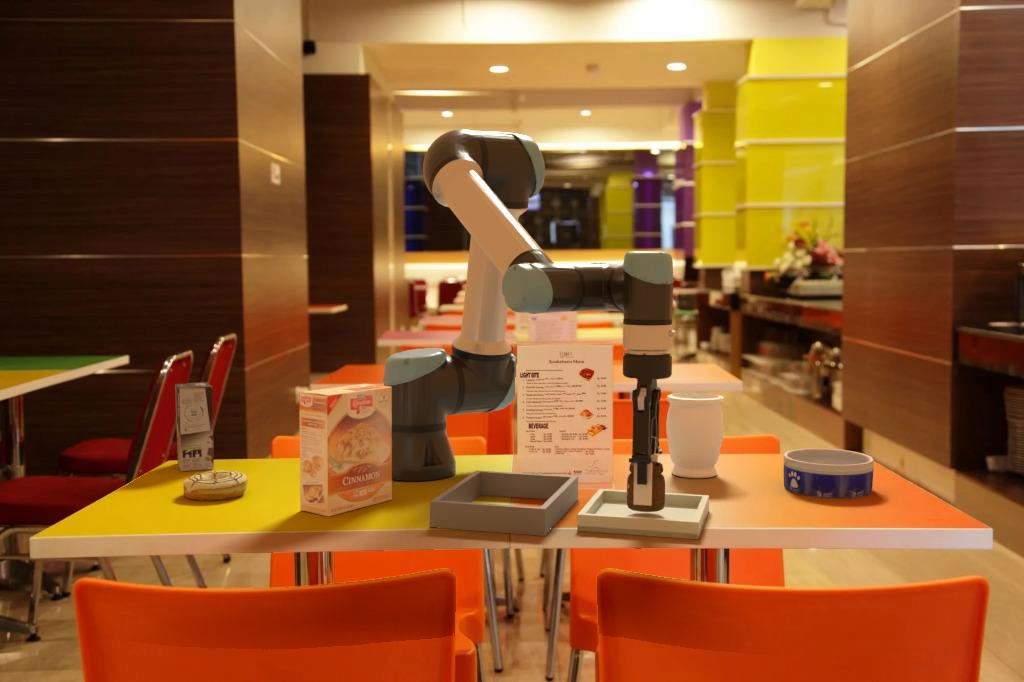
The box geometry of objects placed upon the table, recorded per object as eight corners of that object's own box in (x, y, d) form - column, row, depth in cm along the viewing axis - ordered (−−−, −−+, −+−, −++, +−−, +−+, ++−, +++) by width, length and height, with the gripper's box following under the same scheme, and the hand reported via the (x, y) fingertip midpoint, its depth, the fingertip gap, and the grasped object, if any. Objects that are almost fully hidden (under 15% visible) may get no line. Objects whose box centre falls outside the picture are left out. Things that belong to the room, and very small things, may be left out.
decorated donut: (184, 491, 185) (184, 470, 185) (247, 487, 188) (247, 466, 188) (182, 504, 175) (181, 482, 175) (248, 500, 178) (248, 478, 178)
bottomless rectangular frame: (429, 527, 160) (429, 501, 159) (476, 493, 183) (476, 470, 182) (545, 535, 155) (545, 509, 155) (578, 499, 178) (578, 476, 178)
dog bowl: (892, 493, 183) (893, 459, 183) (826, 503, 176) (827, 468, 176) (828, 477, 197) (829, 445, 196) (765, 485, 190) (765, 452, 189)
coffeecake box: (329, 517, 166) (327, 394, 164) (298, 510, 170) (296, 391, 169) (394, 500, 178) (393, 385, 176) (364, 494, 182) (363, 382, 181)
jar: (719, 469, 203) (721, 392, 202) (725, 481, 193) (726, 399, 192) (664, 468, 204) (665, 391, 203) (667, 479, 194) (668, 399, 193)
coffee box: (215, 469, 203) (213, 386, 202) (180, 472, 201) (178, 388, 199) (210, 461, 212) (208, 381, 210) (176, 463, 209) (174, 382, 208)
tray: (577, 530, 158) (577, 514, 158) (599, 503, 175) (599, 488, 175) (698, 539, 153) (699, 522, 153) (708, 510, 170) (709, 495, 170)
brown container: (671, 506, 165) (672, 431, 164) (653, 515, 160) (654, 436, 159) (637, 501, 168) (638, 427, 167) (618, 509, 163) (619, 433, 162)
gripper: (664, 358, 152) (662, 515, 154) (678, 347, 170) (676, 488, 172) (613, 356, 154) (611, 512, 156) (632, 346, 172) (630, 485, 174)
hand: (645, 499), depth 164 cm, fingers closed on brown container, 6 cm apart
